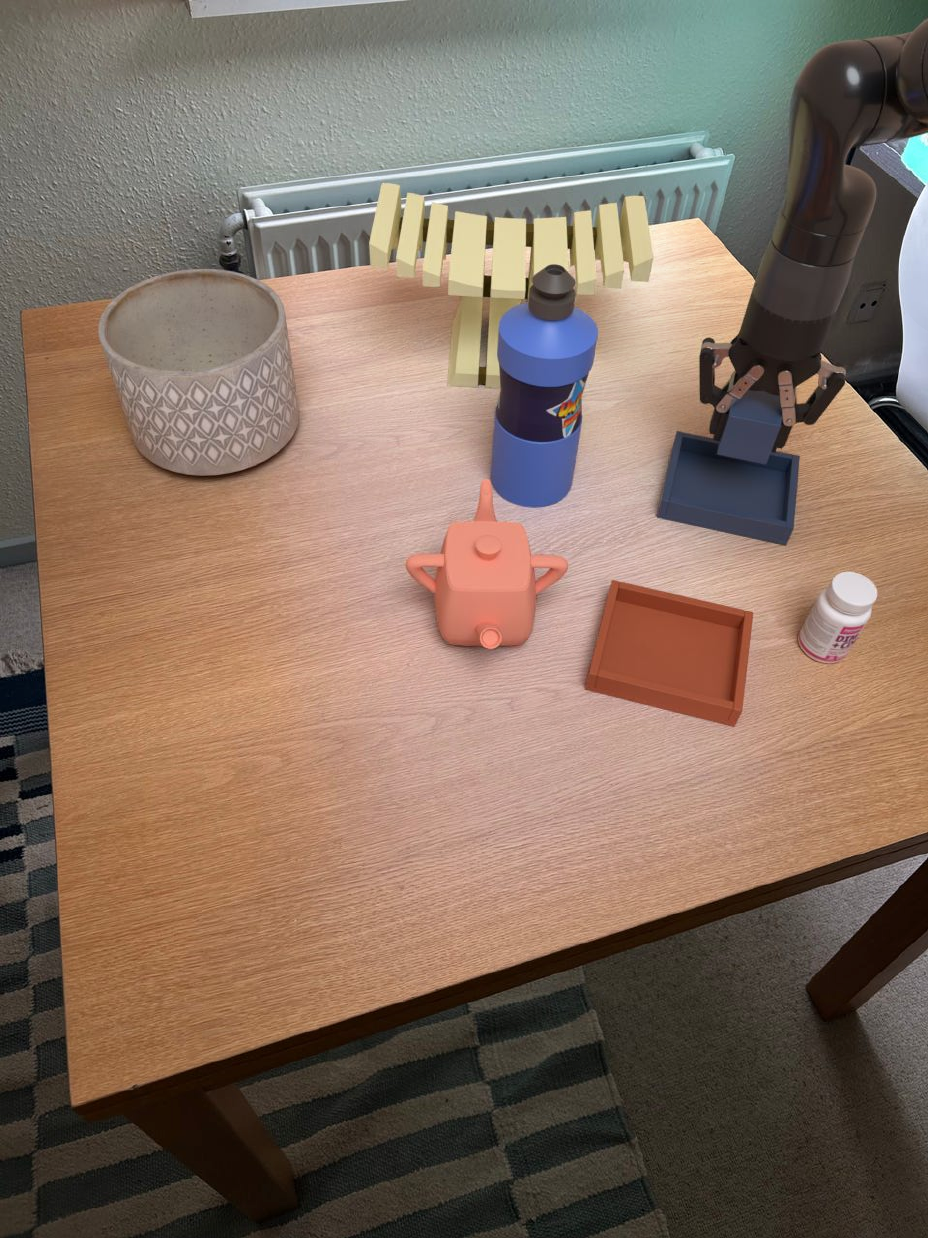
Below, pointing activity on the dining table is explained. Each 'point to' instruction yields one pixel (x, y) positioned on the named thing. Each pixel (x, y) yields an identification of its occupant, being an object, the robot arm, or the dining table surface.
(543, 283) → the water bottle
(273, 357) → the planter
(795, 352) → the robot arm
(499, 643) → the teapot
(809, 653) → the pill bottle
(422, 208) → the slatted curved stool
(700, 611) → the terracotta tray
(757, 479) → the blue tray
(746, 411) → the blue block
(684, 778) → the dining table surface
